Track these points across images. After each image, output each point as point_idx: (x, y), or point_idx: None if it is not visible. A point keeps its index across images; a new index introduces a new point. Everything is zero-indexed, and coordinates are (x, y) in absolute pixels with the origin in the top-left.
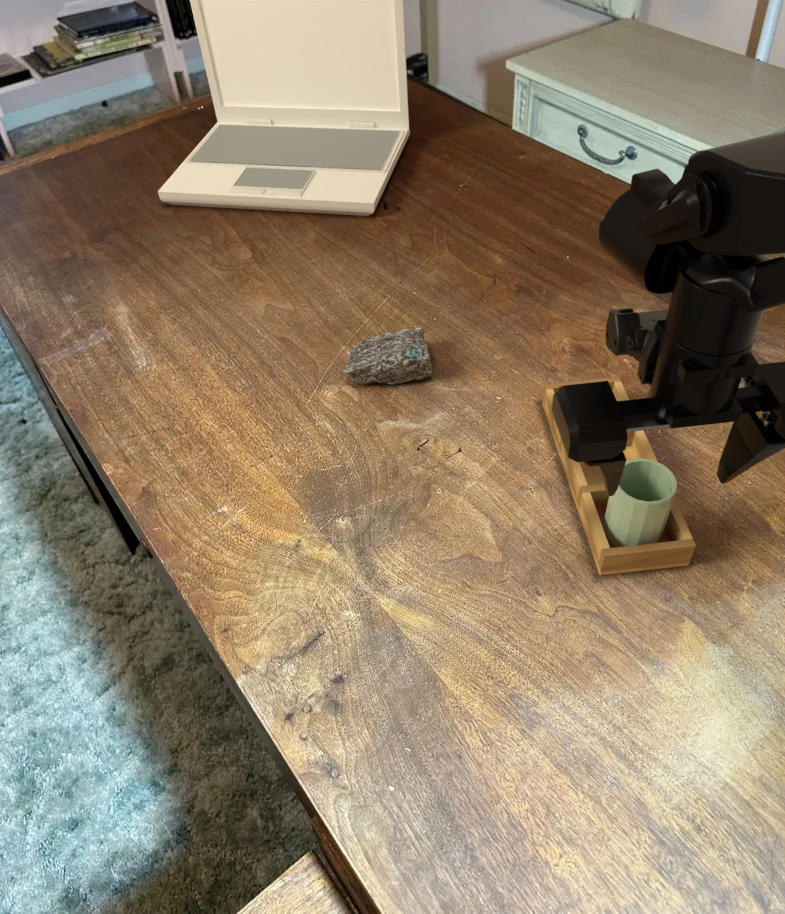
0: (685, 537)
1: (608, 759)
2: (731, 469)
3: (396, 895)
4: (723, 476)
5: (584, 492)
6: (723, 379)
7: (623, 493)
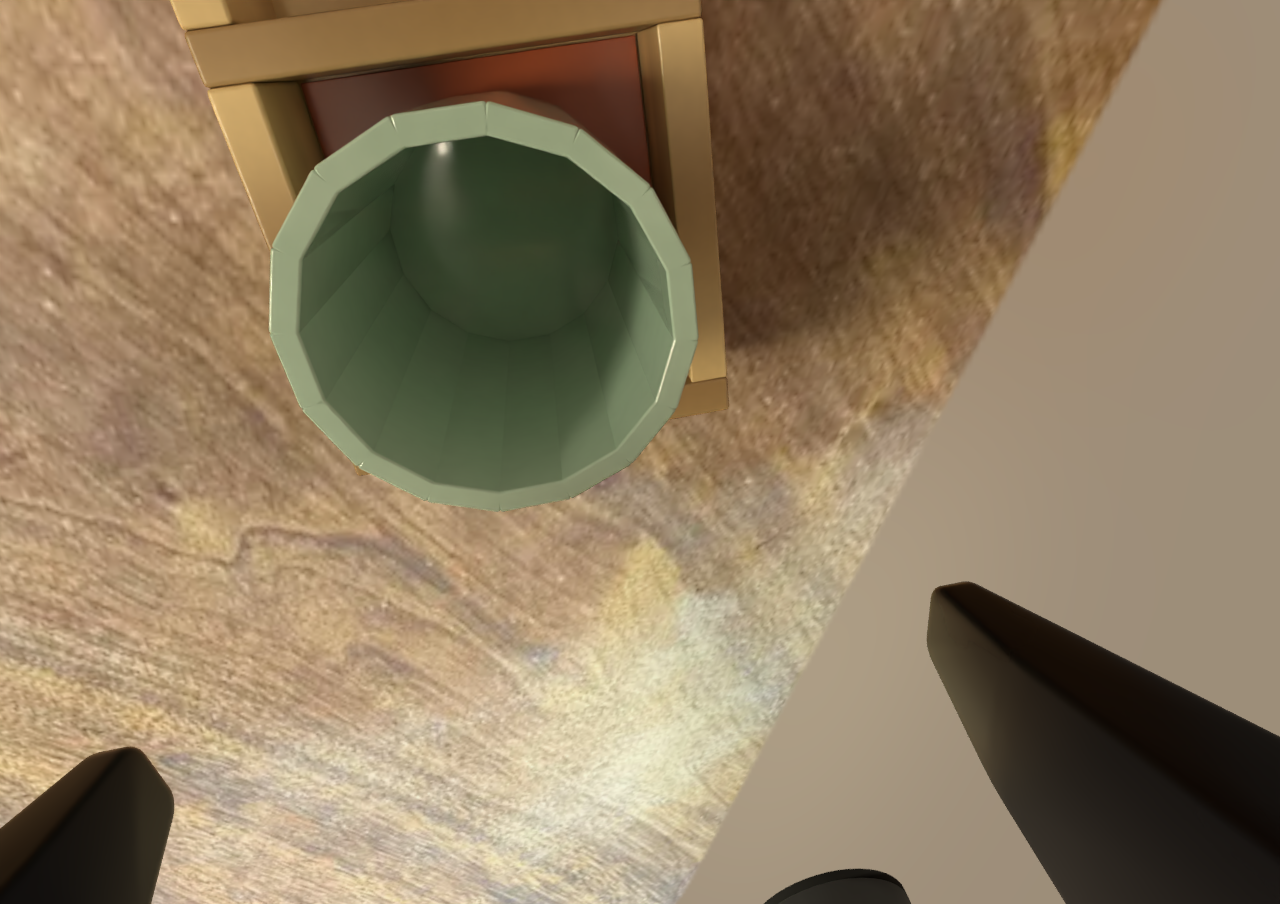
0: (699, 374)
1: (416, 825)
2: (1045, 847)
3: None
4: (963, 703)
5: (219, 87)
6: None
7: (347, 449)
